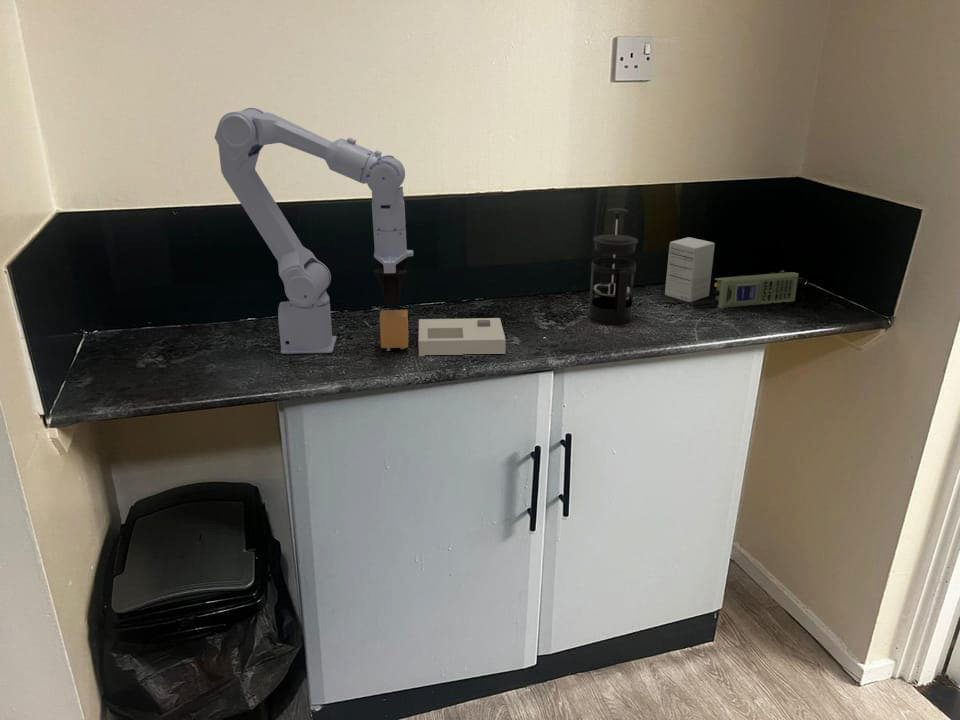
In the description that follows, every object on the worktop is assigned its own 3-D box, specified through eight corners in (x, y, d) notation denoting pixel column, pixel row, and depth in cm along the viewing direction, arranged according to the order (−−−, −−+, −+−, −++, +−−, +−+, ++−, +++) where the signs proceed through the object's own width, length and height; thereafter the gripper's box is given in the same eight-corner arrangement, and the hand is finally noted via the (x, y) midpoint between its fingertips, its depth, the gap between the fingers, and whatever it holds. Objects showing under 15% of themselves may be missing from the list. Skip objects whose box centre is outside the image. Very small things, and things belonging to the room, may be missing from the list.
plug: (381, 353, 144) (379, 317, 141) (382, 345, 148) (380, 310, 145) (408, 352, 144) (407, 317, 142) (408, 344, 148) (407, 310, 145)
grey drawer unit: (683, 289, 183) (688, 236, 178) (709, 296, 177) (716, 242, 173) (663, 295, 178) (668, 241, 173) (690, 302, 173) (696, 247, 168)
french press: (580, 311, 167) (587, 204, 158) (622, 308, 169) (630, 203, 160) (597, 329, 157) (605, 216, 148) (641, 327, 158) (652, 214, 149)
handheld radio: (796, 303, 174) (698, 312, 168) (787, 299, 177) (690, 308, 171) (801, 274, 172) (700, 282, 165) (791, 270, 175) (692, 278, 168)
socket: (418, 356, 143) (418, 337, 141) (419, 333, 154) (418, 315, 152) (505, 354, 144) (505, 335, 142) (499, 332, 155) (500, 314, 153)
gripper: (411, 236, 131) (415, 312, 136) (412, 218, 144) (416, 288, 149) (369, 237, 130) (374, 314, 136) (374, 219, 144) (379, 289, 149)
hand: (393, 300), depth 142 cm, fingers open, 7 cm apart
